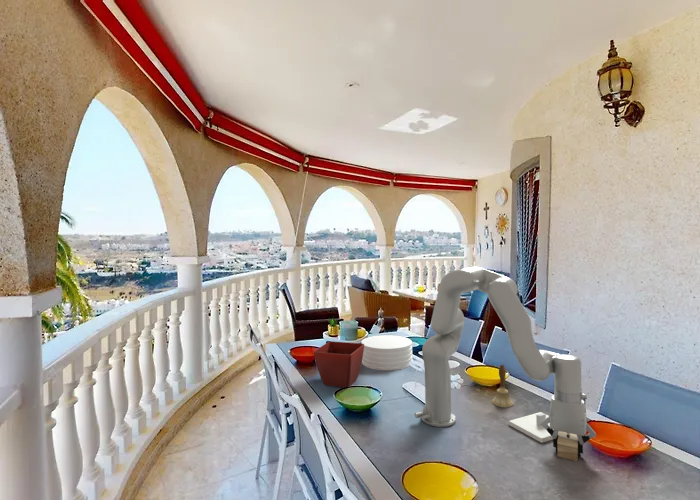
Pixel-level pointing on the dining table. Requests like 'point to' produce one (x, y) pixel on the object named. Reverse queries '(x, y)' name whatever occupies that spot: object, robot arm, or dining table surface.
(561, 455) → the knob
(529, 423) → the shaft board
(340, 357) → the plant pot
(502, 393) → the hand bell
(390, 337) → the plate stack
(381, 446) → the dining table surface
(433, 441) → the dining table surface
